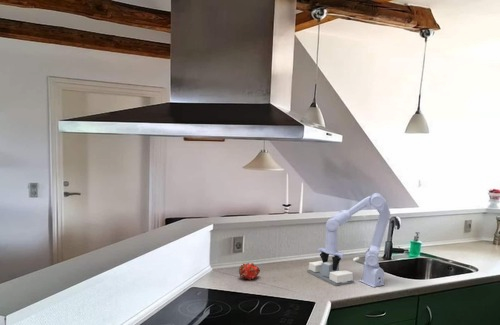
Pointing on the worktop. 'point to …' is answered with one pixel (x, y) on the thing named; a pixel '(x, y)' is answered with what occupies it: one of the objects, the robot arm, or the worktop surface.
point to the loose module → (327, 268)
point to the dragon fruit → (249, 271)
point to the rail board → (331, 274)
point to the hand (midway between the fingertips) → (330, 268)
